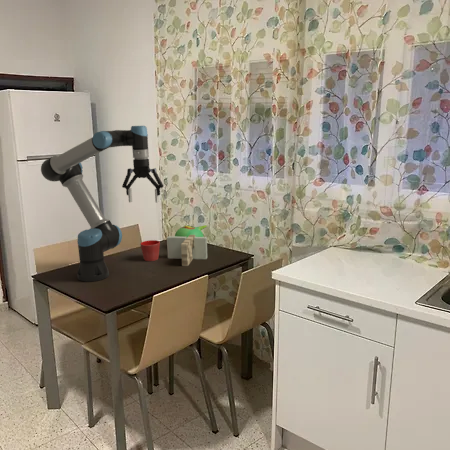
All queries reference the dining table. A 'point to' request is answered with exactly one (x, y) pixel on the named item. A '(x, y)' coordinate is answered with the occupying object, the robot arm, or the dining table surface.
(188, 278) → the dining table surface
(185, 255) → the birch slotted plate
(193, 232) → the green rounded piece
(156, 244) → the flower pot
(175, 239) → the sage slotted rail
